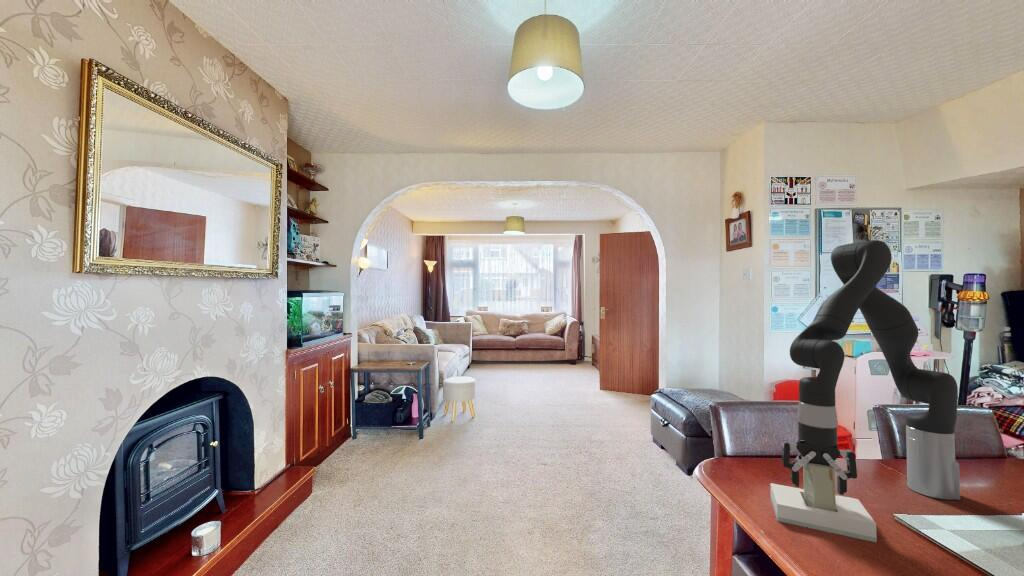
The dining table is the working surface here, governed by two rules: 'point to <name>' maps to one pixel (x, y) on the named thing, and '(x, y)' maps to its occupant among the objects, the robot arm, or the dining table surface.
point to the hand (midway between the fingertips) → (818, 489)
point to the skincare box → (819, 486)
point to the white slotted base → (823, 514)
